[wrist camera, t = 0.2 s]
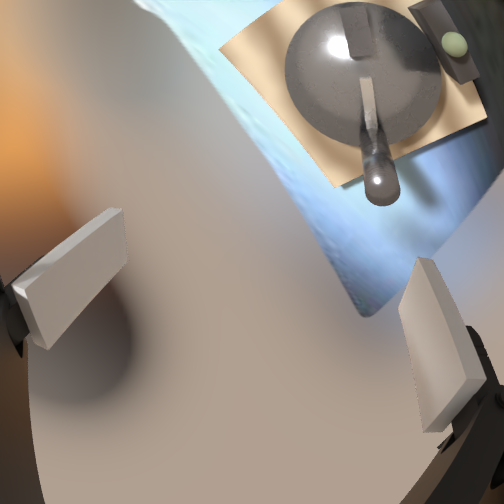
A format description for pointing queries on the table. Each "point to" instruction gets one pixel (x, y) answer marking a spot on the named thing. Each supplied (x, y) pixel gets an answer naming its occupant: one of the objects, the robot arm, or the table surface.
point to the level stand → (314, 142)
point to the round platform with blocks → (364, 84)
